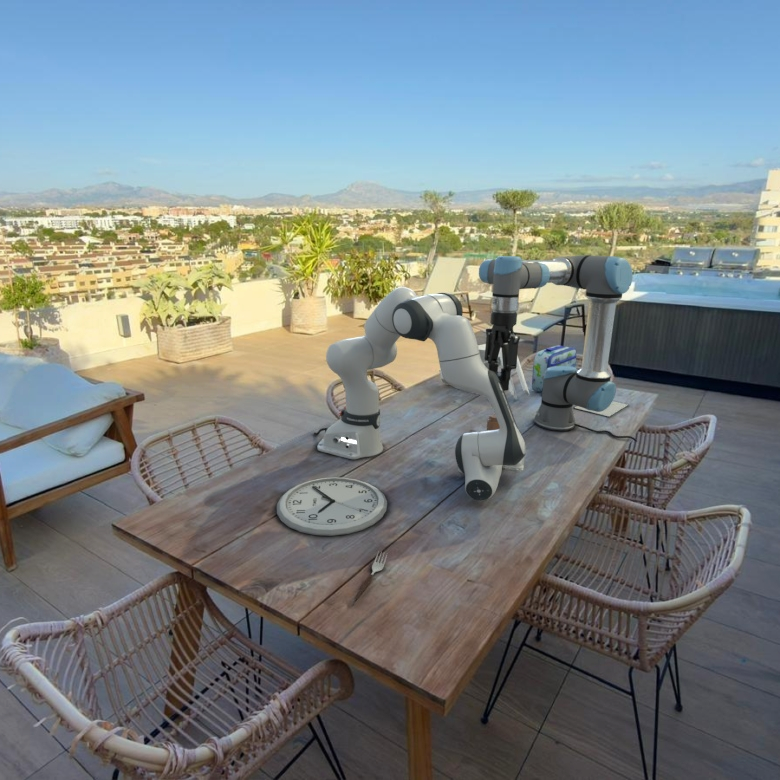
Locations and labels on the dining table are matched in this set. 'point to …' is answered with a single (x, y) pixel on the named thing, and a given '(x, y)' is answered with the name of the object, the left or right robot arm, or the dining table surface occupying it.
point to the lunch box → (551, 363)
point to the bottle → (492, 423)
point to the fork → (375, 568)
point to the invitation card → (607, 409)
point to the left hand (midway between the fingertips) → (493, 448)
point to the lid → (498, 375)
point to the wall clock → (331, 506)
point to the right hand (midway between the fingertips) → (497, 387)
